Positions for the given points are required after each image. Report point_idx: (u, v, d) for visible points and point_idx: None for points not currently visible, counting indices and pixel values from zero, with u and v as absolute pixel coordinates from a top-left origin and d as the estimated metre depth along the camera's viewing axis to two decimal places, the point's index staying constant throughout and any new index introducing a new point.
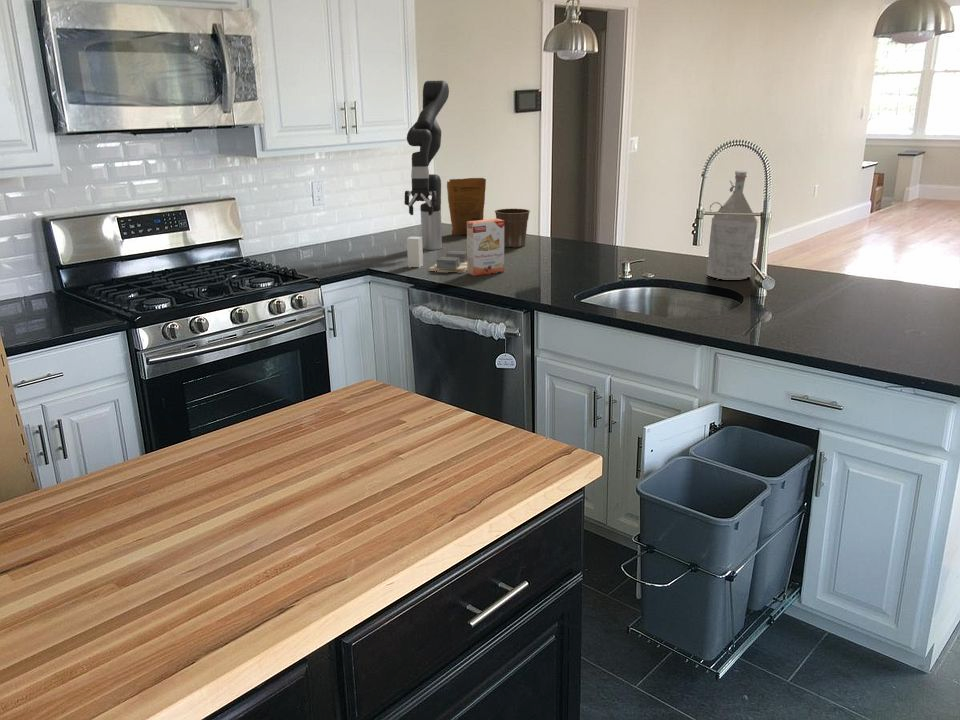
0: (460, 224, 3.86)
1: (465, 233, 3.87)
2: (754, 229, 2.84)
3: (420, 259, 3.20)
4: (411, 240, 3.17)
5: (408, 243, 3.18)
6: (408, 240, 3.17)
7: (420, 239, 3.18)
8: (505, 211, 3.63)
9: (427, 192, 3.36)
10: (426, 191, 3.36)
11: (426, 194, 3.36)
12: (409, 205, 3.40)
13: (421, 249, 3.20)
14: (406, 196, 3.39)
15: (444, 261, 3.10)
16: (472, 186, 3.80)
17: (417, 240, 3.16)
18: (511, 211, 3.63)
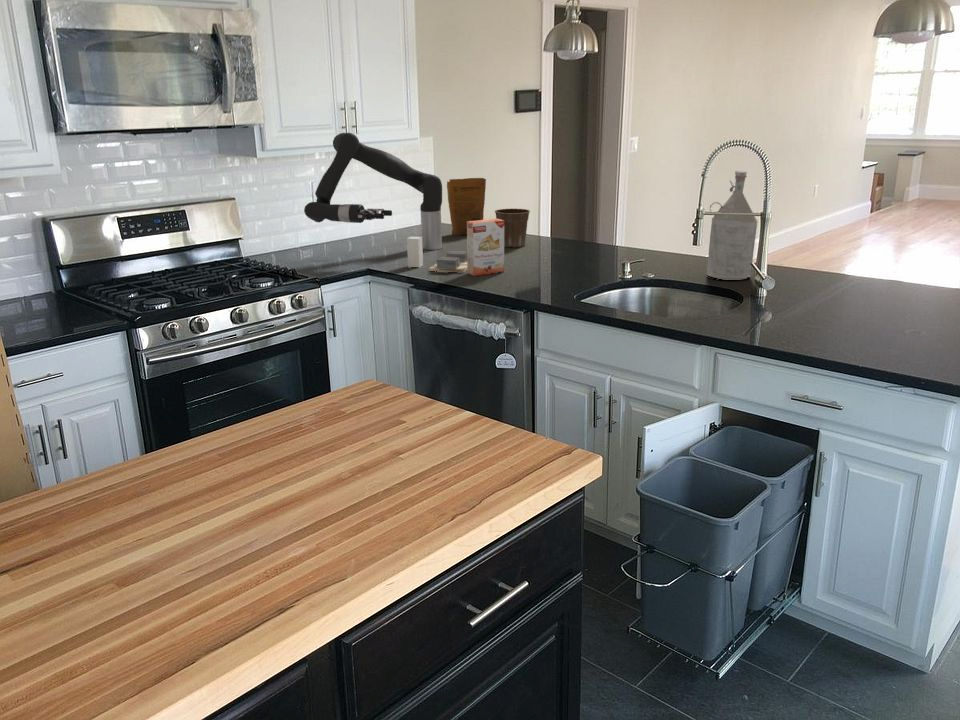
0: (460, 224, 3.86)
1: (465, 233, 3.87)
2: (754, 229, 2.84)
3: (420, 259, 3.20)
4: (411, 240, 3.17)
5: (408, 243, 3.18)
6: (408, 240, 3.17)
7: (420, 239, 3.18)
8: (505, 211, 3.63)
9: None
10: None
11: None
12: None
13: (421, 249, 3.20)
14: None
15: (444, 261, 3.10)
16: (472, 186, 3.80)
17: (417, 240, 3.16)
18: (511, 211, 3.63)
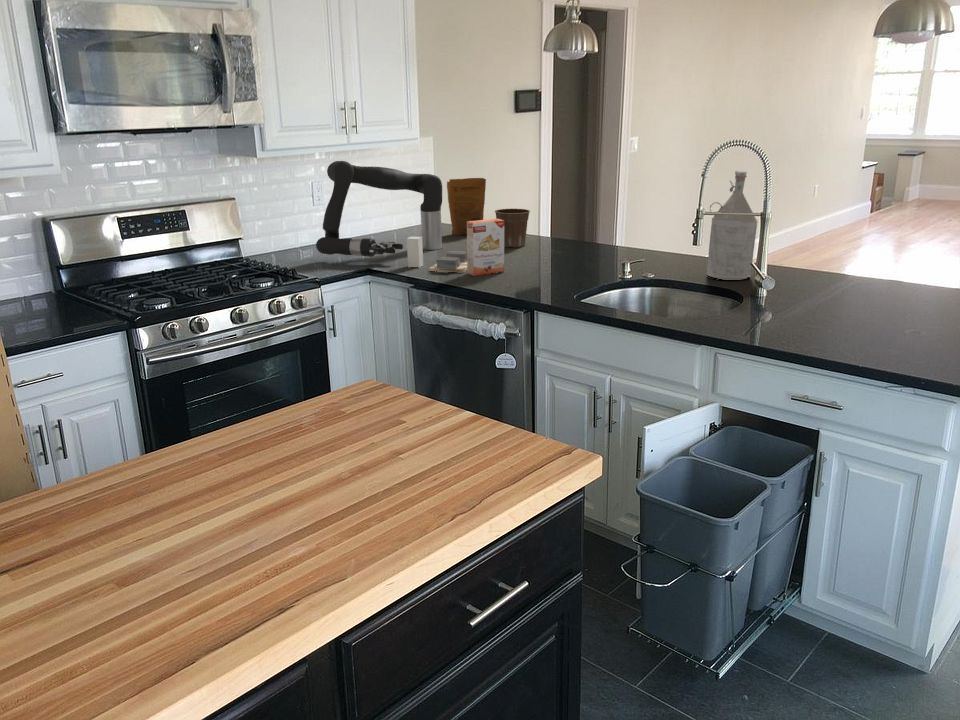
0: (460, 224, 3.86)
1: (465, 233, 3.87)
2: (754, 229, 2.84)
3: (420, 259, 3.20)
4: (411, 240, 3.17)
5: (408, 243, 3.18)
6: (408, 240, 3.17)
7: (420, 239, 3.18)
8: (505, 211, 3.63)
9: None
10: None
11: None
12: None
13: (421, 249, 3.20)
14: None
15: (444, 261, 3.10)
16: (472, 186, 3.80)
17: (417, 240, 3.16)
18: (511, 211, 3.63)
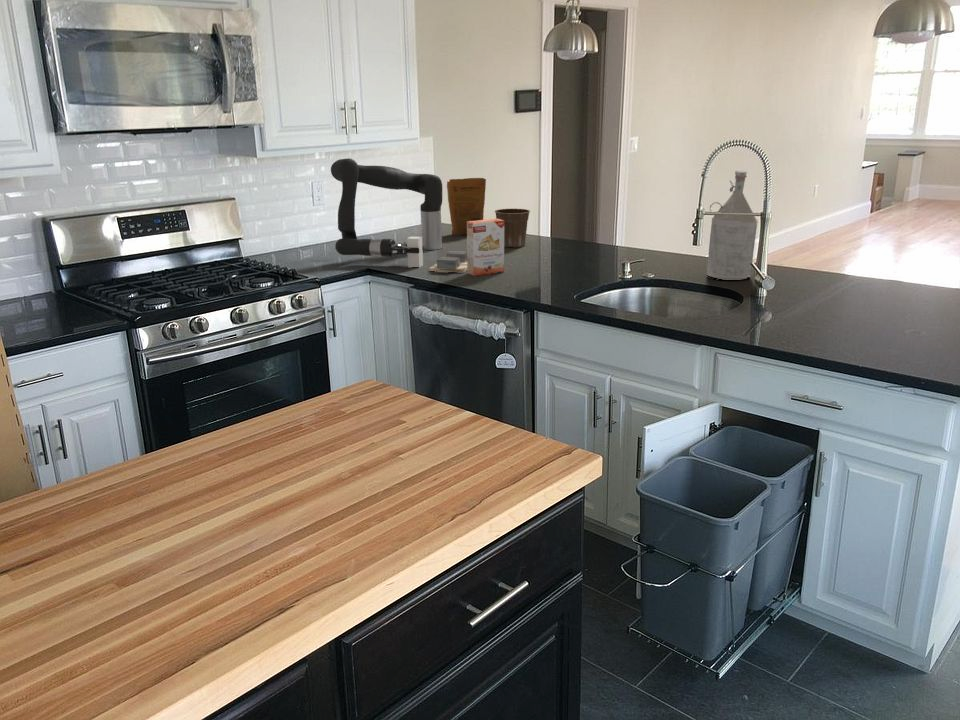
0: (460, 224, 3.86)
1: (465, 233, 3.87)
2: (754, 229, 2.84)
3: (420, 259, 3.20)
4: (411, 240, 3.17)
5: (408, 243, 3.18)
6: (408, 240, 3.17)
7: (420, 239, 3.18)
8: (505, 211, 3.63)
9: None
10: None
11: None
12: None
13: (421, 249, 3.20)
14: None
15: (444, 261, 3.10)
16: (472, 186, 3.80)
17: (417, 240, 3.16)
18: (511, 211, 3.63)
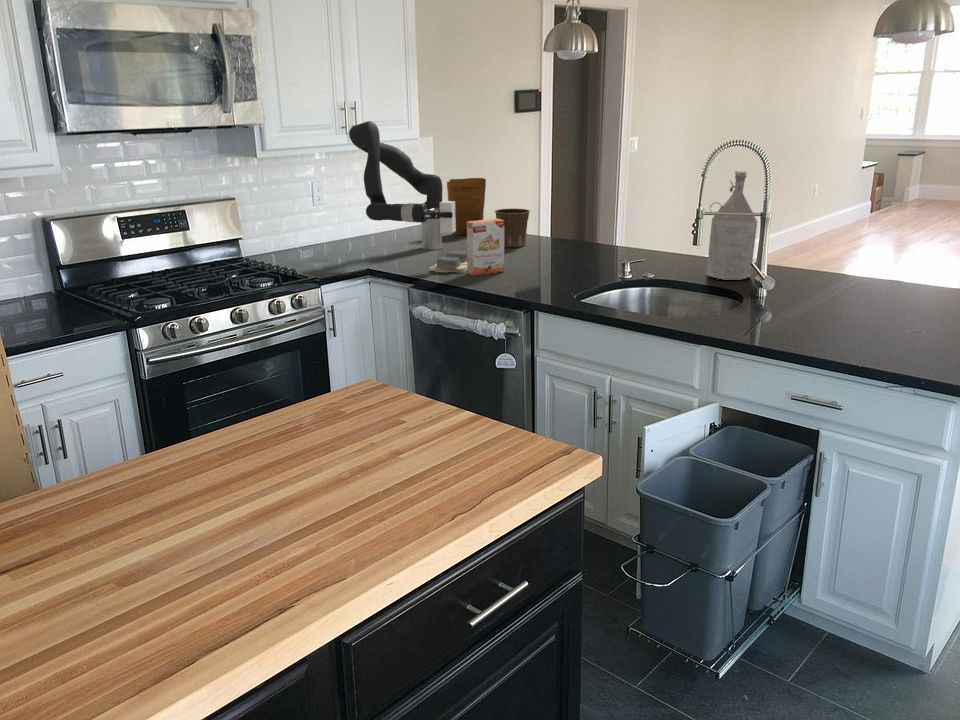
0: (460, 224, 3.86)
1: (465, 233, 3.87)
2: (754, 229, 2.84)
3: (453, 224, 3.12)
4: (444, 204, 3.09)
5: (441, 207, 3.10)
6: (441, 204, 3.09)
7: (453, 203, 3.10)
8: (505, 211, 3.63)
9: None
10: (425, 217, 3.12)
11: None
12: None
13: (454, 214, 3.12)
14: None
15: (444, 261, 3.10)
16: (472, 186, 3.80)
17: (450, 204, 3.08)
18: (511, 211, 3.63)
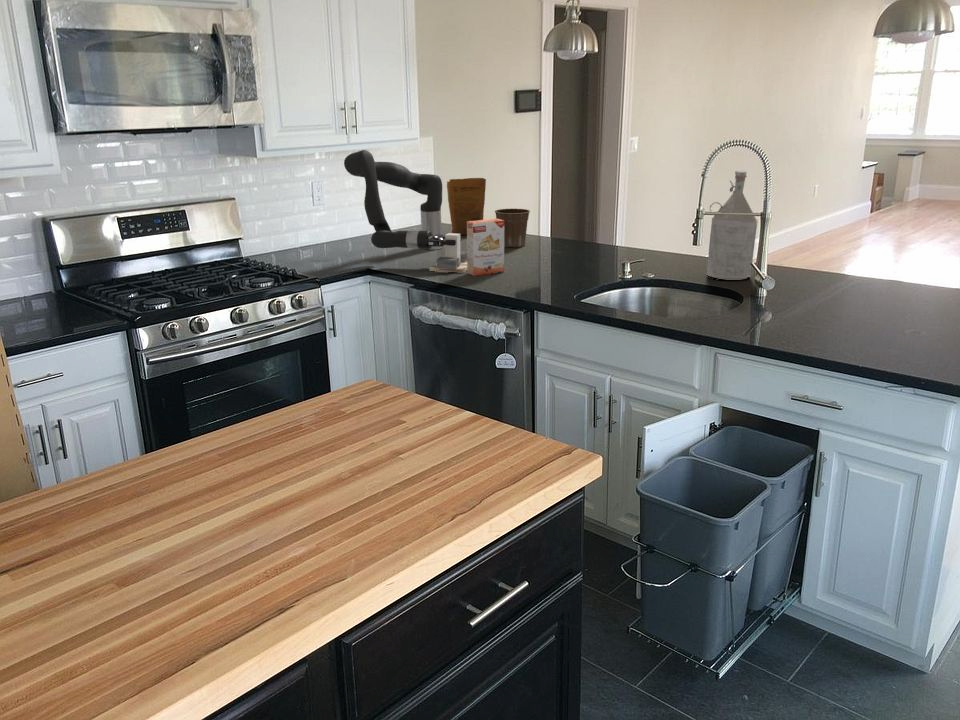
0: (460, 224, 3.86)
1: (465, 233, 3.87)
2: (754, 229, 2.84)
3: (458, 256, 3.16)
4: (450, 237, 3.13)
5: None
6: (447, 236, 3.13)
7: (459, 236, 3.15)
8: (505, 211, 3.63)
9: None
10: None
11: None
12: None
13: (459, 246, 3.17)
14: None
15: (444, 261, 3.10)
16: (472, 186, 3.80)
17: (456, 237, 3.12)
18: (511, 211, 3.63)
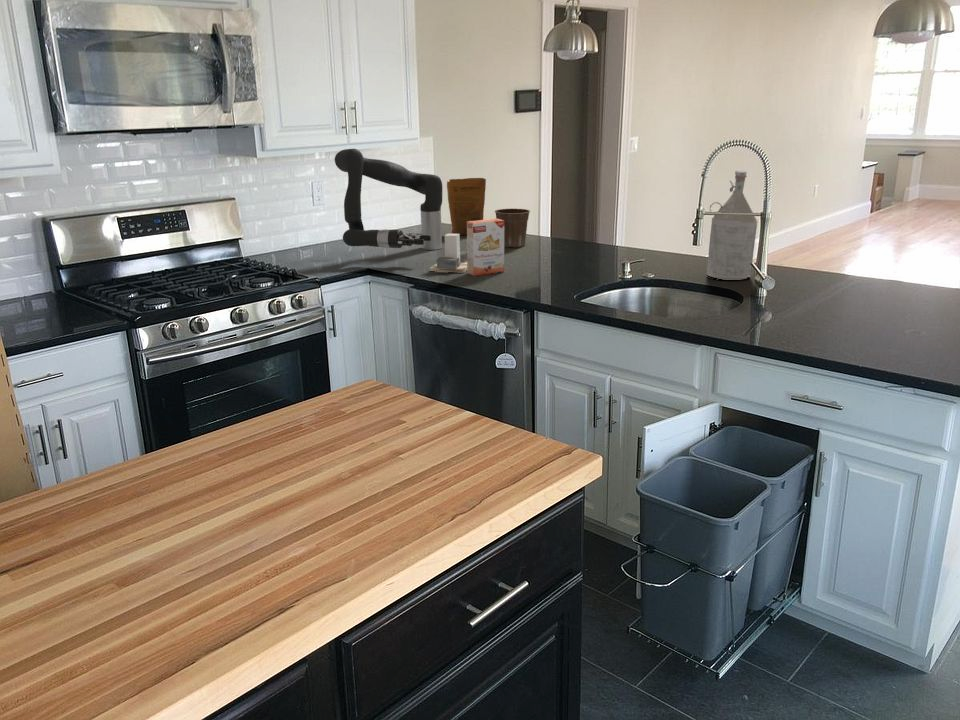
0: (460, 224, 3.86)
1: (465, 233, 3.87)
2: (754, 229, 2.84)
3: (458, 256, 3.16)
4: (449, 237, 3.13)
5: (446, 240, 3.14)
6: (446, 237, 3.13)
7: (458, 236, 3.14)
8: (505, 211, 3.63)
9: None
10: None
11: None
12: None
13: (459, 246, 3.16)
14: (414, 239, 3.26)
15: (444, 261, 3.10)
16: (472, 186, 3.80)
17: (455, 237, 3.12)
18: (511, 211, 3.63)
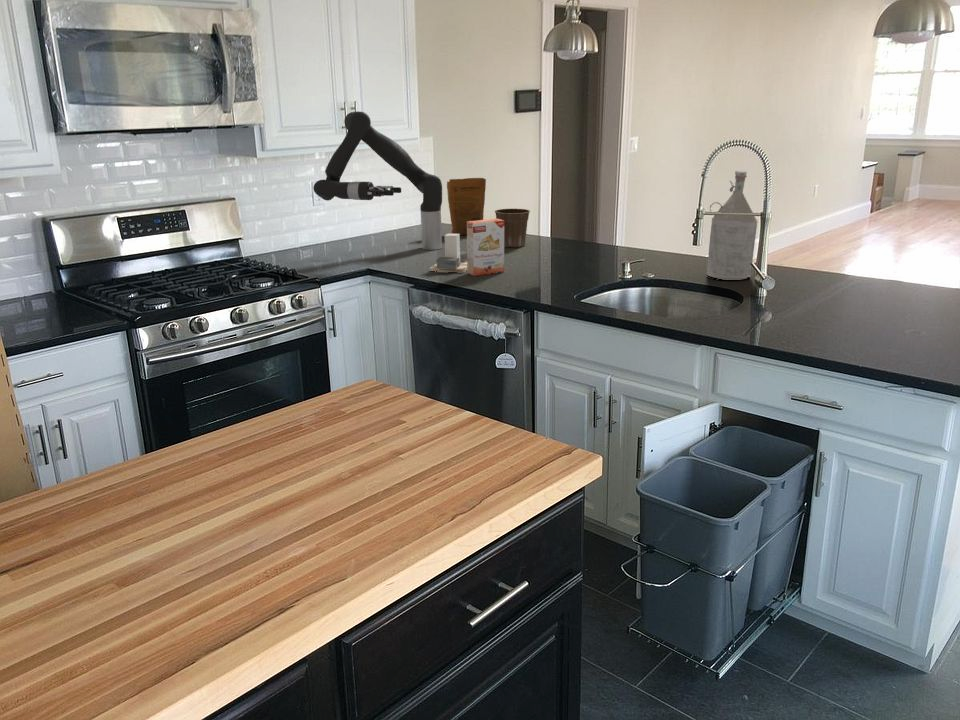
0: (460, 224, 3.86)
1: (465, 233, 3.87)
2: (754, 229, 2.84)
3: (458, 256, 3.16)
4: (449, 237, 3.13)
5: (446, 240, 3.14)
6: (446, 237, 3.13)
7: (458, 236, 3.14)
8: (505, 211, 3.63)
9: None
10: None
11: None
12: None
13: (459, 246, 3.16)
14: None
15: (444, 261, 3.10)
16: (472, 186, 3.80)
17: (455, 237, 3.12)
18: (511, 211, 3.63)
